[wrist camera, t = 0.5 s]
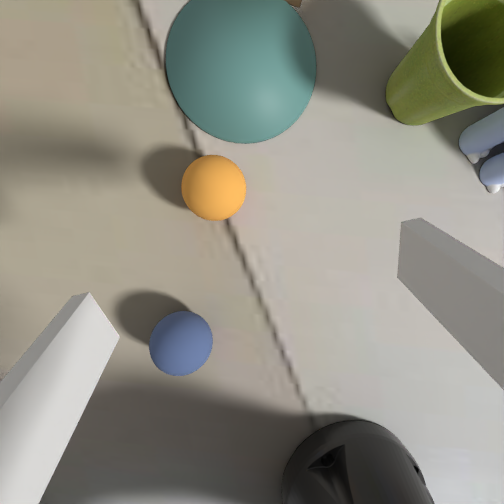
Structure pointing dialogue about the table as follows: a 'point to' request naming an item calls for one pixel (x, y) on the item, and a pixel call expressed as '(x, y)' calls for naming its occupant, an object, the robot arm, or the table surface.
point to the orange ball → (213, 187)
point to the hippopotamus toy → (486, 148)
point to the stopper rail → (294, 2)
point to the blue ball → (180, 343)
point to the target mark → (241, 67)
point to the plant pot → (451, 63)
